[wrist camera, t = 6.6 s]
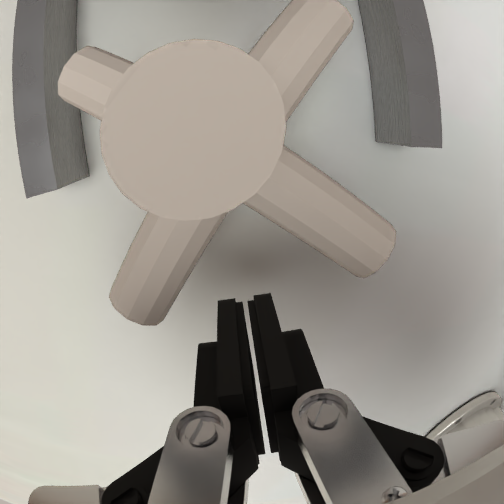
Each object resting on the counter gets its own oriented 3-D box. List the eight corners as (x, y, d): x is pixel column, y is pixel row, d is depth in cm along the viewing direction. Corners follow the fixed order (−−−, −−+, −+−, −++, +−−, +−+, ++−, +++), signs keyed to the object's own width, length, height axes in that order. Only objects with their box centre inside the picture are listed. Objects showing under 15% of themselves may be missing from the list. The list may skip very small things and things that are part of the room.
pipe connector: (386, 128, 12) (581, 111, 2) (266, 307, 14) (297, 509, 5) (197, 12, 10) (140, -153, 1) (83, 198, 12) (-98, 268, 3)
